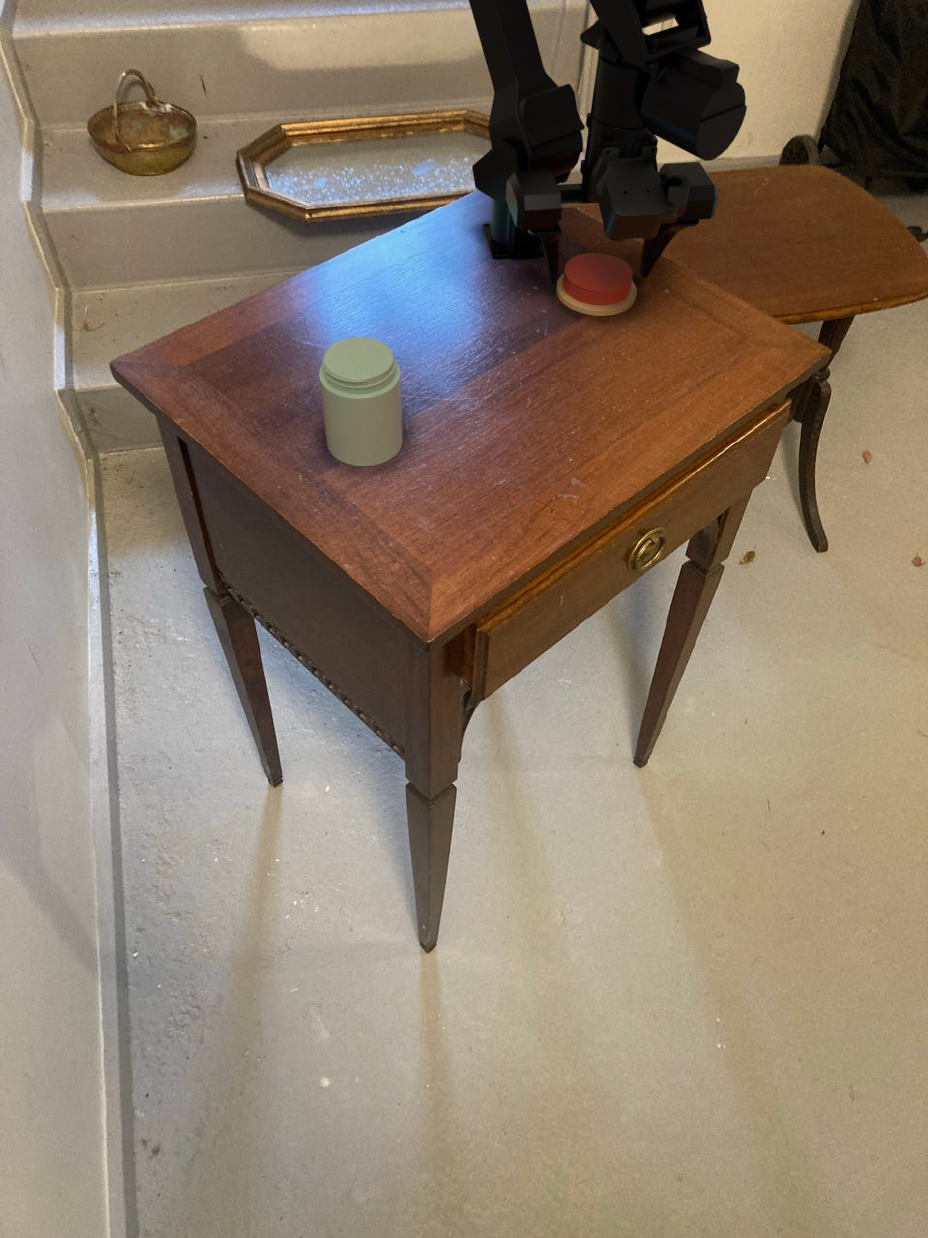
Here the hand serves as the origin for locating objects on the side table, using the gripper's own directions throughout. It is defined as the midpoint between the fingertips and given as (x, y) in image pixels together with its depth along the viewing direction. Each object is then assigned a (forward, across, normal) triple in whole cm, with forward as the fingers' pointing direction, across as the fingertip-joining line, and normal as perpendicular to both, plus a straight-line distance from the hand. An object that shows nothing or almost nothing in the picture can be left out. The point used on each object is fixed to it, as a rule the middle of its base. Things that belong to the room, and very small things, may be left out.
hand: (598, 278), depth 92 cm
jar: (+2, -25, -19) cm, 32 cm away
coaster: (+2, 0, 0) cm, 2 cm away
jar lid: (0, 0, 0) cm, 0 cm away
